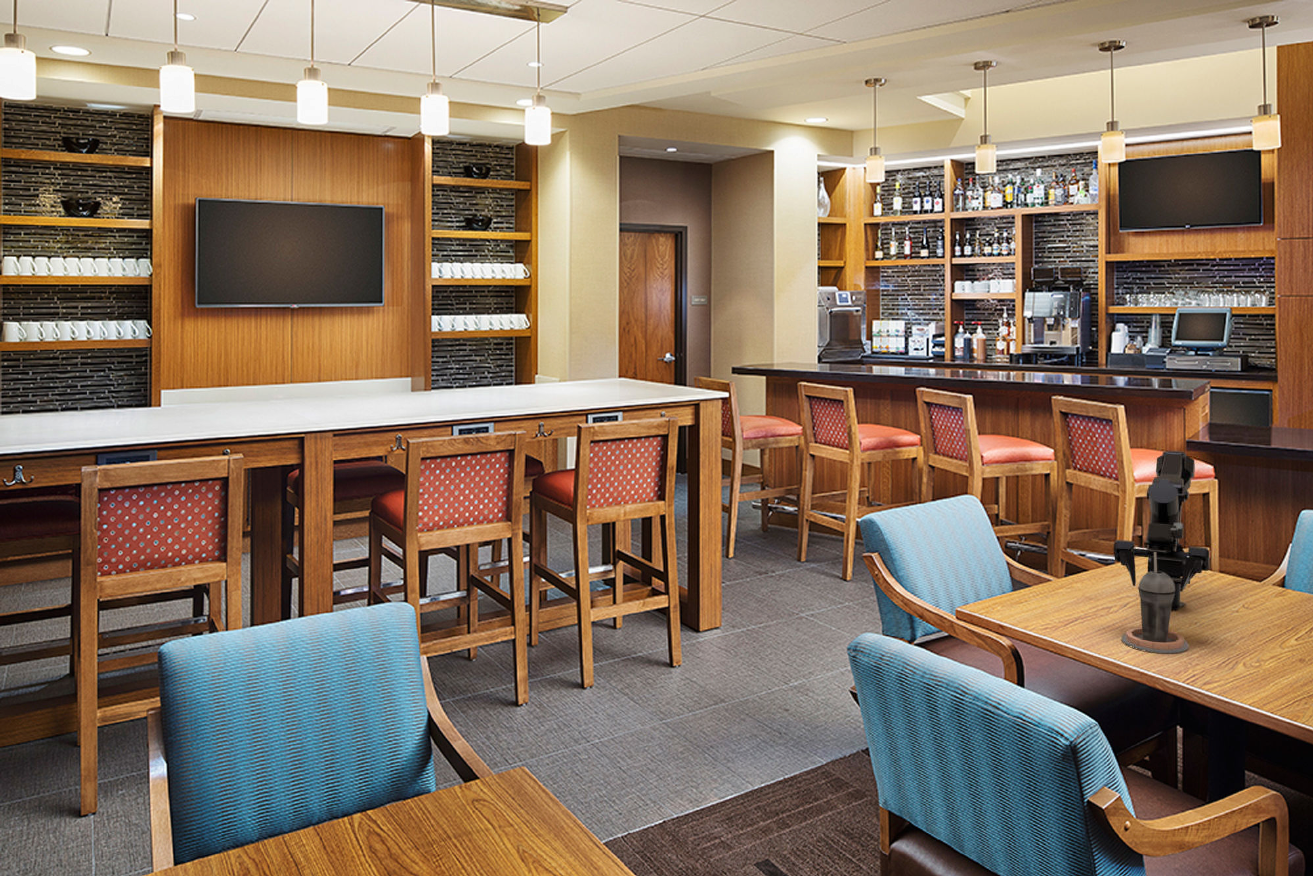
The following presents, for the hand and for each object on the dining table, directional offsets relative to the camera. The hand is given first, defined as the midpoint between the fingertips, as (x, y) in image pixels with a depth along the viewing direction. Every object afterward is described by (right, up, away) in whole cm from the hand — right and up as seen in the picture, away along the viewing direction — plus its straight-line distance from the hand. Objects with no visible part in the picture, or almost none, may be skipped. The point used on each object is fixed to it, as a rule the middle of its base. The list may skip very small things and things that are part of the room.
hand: (1157, 588), depth 207 cm
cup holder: (-1, -12, 0) cm, 12 cm away
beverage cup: (-1, -12, 0) cm, 12 cm away
